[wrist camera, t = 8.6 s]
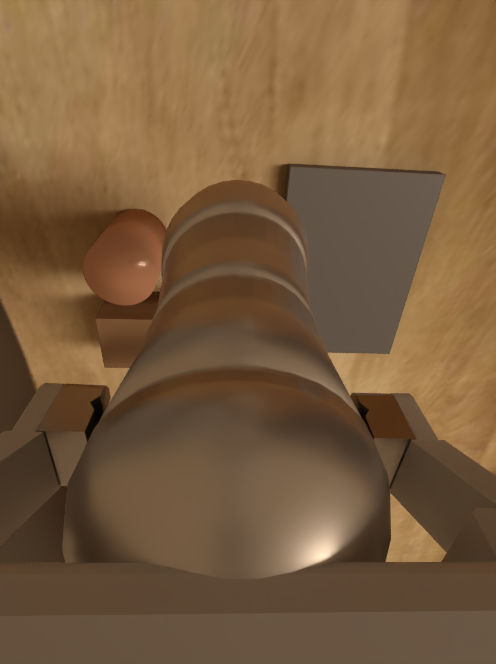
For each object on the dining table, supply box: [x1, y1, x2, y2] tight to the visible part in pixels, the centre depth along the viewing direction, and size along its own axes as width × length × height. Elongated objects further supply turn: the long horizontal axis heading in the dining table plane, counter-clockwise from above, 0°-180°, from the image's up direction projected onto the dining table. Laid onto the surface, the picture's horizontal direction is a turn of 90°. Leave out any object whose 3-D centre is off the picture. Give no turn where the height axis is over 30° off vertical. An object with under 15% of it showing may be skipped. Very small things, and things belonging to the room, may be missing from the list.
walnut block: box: [95, 292, 160, 368], centre depth 35 cm, size 5×5×5 cm
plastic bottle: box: [62, 180, 391, 579], centre depth 12 cm, size 6×7×20 cm
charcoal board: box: [285, 164, 446, 354], centre depth 35 cm, size 17×12×1 cm
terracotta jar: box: [83, 209, 166, 305], centre depth 30 cm, size 5×5×7 cm
